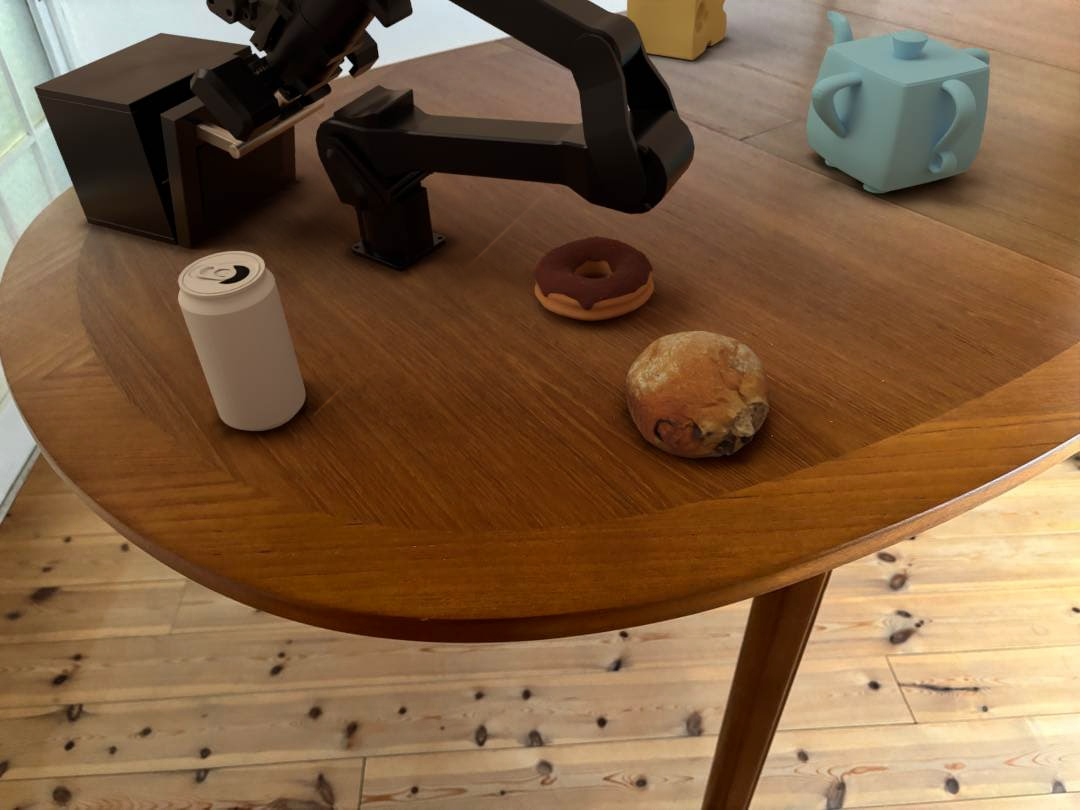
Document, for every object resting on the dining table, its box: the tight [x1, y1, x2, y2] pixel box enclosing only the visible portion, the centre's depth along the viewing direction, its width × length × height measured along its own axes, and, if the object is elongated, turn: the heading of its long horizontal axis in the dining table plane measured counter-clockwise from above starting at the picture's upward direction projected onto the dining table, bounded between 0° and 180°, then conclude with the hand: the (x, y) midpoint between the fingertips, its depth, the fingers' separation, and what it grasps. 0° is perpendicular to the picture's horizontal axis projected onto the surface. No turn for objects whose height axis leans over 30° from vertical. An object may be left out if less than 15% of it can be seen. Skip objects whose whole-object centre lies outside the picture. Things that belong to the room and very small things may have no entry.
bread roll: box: [625, 330, 770, 459], centre depth 64 cm, size 10×10×8 cm
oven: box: [33, 32, 253, 246], centre depth 91 cm, size 12×16×14 cm
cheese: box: [626, 0, 728, 61], centre depth 122 cm, size 10×11×10 cm
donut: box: [532, 235, 655, 322], centre depth 77 cm, size 10×10×4 cm
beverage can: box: [177, 250, 307, 432], centre depth 64 cm, size 6×6×12 cm
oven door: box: [160, 96, 326, 250], centre depth 88 cm, size 7×16×14 cm, turn 153°
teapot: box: [806, 10, 991, 194], centre depth 90 cm, size 18×16×14 cm
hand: (254, 122), depth 85 cm, fingers closed, pressing on oven door
